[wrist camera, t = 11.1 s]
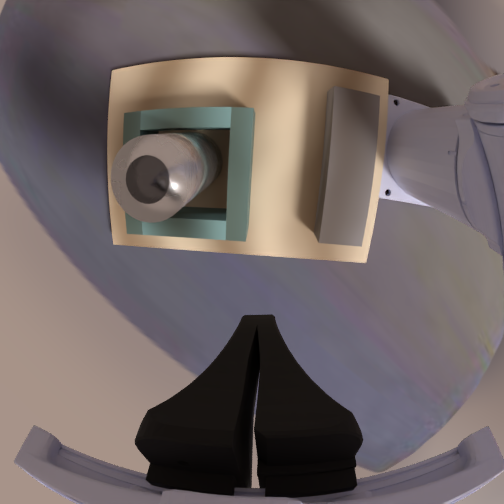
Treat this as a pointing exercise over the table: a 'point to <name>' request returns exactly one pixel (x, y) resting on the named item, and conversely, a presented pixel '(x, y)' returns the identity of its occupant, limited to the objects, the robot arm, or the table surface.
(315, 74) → the jig
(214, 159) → the bushing
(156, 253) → the table surface
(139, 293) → the table surface
